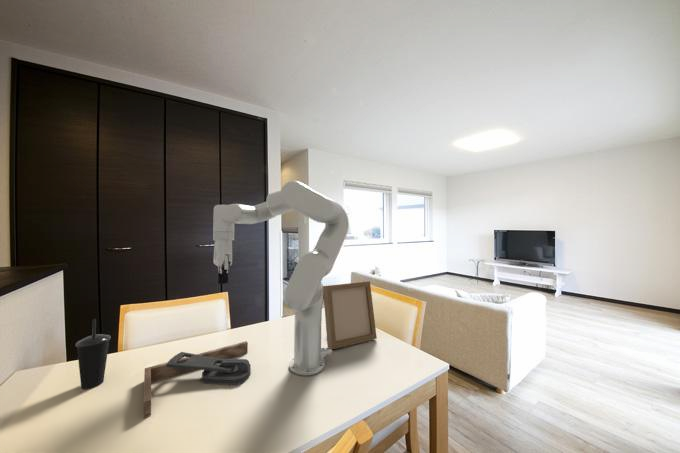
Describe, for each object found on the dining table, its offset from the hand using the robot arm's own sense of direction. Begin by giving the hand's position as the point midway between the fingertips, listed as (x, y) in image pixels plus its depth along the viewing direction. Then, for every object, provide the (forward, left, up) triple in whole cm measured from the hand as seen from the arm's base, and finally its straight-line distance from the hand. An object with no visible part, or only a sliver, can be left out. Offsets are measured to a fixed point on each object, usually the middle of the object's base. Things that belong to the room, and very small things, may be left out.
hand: (222, 283), depth 95 cm
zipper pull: (+6, +15, -27) cm, 32 cm away
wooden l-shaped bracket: (+7, +14, -27) cm, 31 cm away
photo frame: (-47, +20, -27) cm, 58 cm away
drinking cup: (+36, -3, -27) cm, 45 cm away
